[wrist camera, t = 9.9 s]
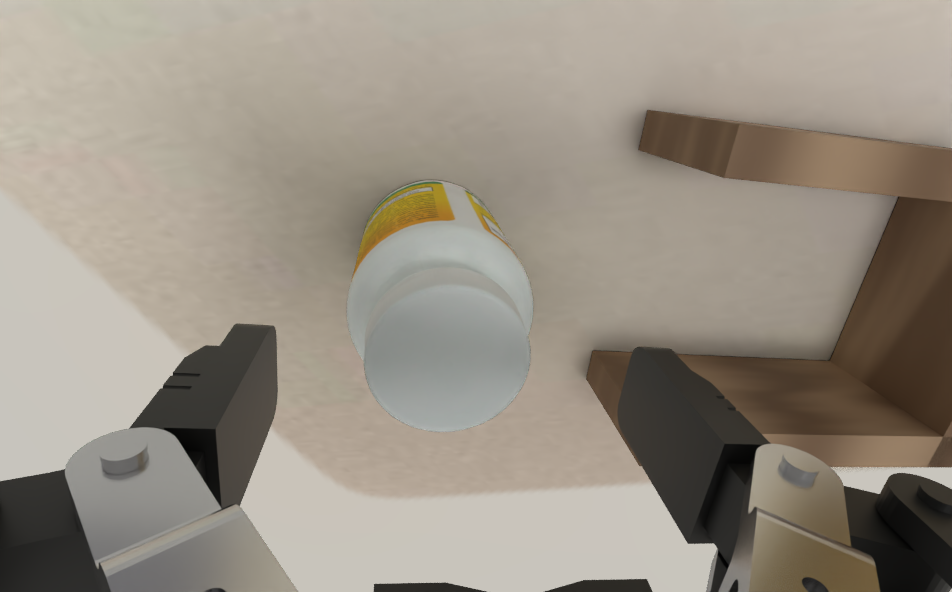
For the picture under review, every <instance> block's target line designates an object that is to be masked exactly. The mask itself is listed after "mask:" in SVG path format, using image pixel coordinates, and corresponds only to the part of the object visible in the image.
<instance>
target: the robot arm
mask: <svg viewBox="0 0 952 592" xmlns="http://www.w3.org/2000/svg"><path fill="white" fill-rule="evenodd" d="M277 392H278V387H277V344H276V330H275V327H274V326H270V325H252V324H235V325H234V326H233V328H232V329H231V331H230V332H229V333H228V335H227V336H226V338H225V339H224V341H223V342H222V344H221V345H220V346H207V345H206V346H204V347H202V348H200V349H199V350H197V351H195V352H194V353H192V354H190V355H188V356H187V357H185V358H184V359H183V361H182V362H181V363H180V364H179V366H178V367H177V368H176V370H175V371H174V372H173V376H170V377H169V378H168V380H167V381H166V382H165V383H164V385H163V389H160V390H159V391H158V392H157V394H156V395H155V396H154V398H153V399H152V400H151V401H150V403H149V404H148V405H147V406H146V408H145V409H144V410H143V412H142V413H141V414H140V415H139V417H138V418H137V419H136V421H135V422H134V423H133V424H132V426H131V427H130V428H129V429H124V430H120V431H116V432H112V433H109V434H107V435H104V436H101V437H99V438H97V439H95V440H93V441H91V442H89V443H88V444H86V445H84V446H83V447H82V448H80V449H79V450H78V451H77V452H76V453H75V454H73V456H72V457H71V458H70V460H69V461H68V463H67V465H66V468H65V469H64V470H61V471H55V472H50V473H45V474H39V475H34V476H28V477H23V478H17V479H12V480H6V481H0V592H298V591H297V589H296V588H295V586H294V585H293V583H292V582H291V580H290V579H289V577H288V576H287V575H286V573H285V571H284V570H283V568H282V567H281V565H280V564H279V562H278V561H277V560H276V558H275V557H274V555H273V554H272V552H271V551H270V549H269V548H268V546H267V545H266V543H265V542H264V540H263V539H262V537H261V536H260V534H259V533H258V531H257V530H256V529H255V527H254V525H253V524H252V522H251V521H250V520H249V518H248V517H247V515H246V514H245V512H244V511H243V510H242V508H241V507H240V504H241V501H242V498H243V496H244V493H245V491H246V488H247V486H248V483H249V481H250V478H251V475H252V473H253V470H254V468H255V465H256V463H257V460H258V457H259V455H260V452H261V450H262V447H263V445H264V442H265V439H266V437H267V434H268V432H269V429H270V427H271V424H272V421H273V419H274V415H275V410H276V404H277ZM617 416H618V423H619V427H620V430H621V432H622V433H623V435H624V437H625V438H626V440H627V442H628V443H629V445H630V447H631V448H632V450H633V452H634V454H635V455H636V457H637V459H638V460H639V462H640V464H641V465H642V467H643V469H644V470H645V472H646V474H647V475H648V477H649V479H650V480H651V482H652V484H653V486H654V487H655V489H656V491H657V492H658V494H659V496H660V497H661V499H662V501H663V502H664V504H665V506H666V507H667V509H668V511H669V512H670V514H671V516H672V518H673V519H674V521H675V523H676V524H677V526H678V528H679V529H680V531H681V533H682V534H683V536H684V538H685V539H686V541H687V543H688V544H693V543H694V544H696V543H697V544H698V543H714V544H715V545H716V546H717V551H716V554H715V556H714V559H713V561H712V565H711V570H710V575H709V580H708V585H707V590H706V592H949V591H950V590H951V588H952V489H950V488H948V487H946V486H944V485H942V484H940V483H937V482H935V481H932V480H930V479H927V478H924V477H921V476H917V475H913V474H906V473H897V474H893V475H891V476H890V477H889V478H888V480H887V482H886V484H885V485H884V488H883V489H882V491H881V493H880V494H876V493H872V492H867V491H863V490H859V489H855V488H851V487H846V486H843V483H842V481H841V479H840V477H839V476H838V475H837V474H836V472H835V471H834V470H832V469H831V468H830V467H829V466H828V465H827V464H825V463H824V462H822V461H821V460H819V459H818V458H816V457H814V456H812V455H810V454H808V453H806V452H804V451H802V450H799V449H796V448H793V447H790V446H786V445H781V444H771V443H770V442H769V441H768V440H767V439H766V438H765V437H764V436H763V435H762V434H761V433H760V432H759V431H758V430H757V429H756V428H755V427H754V426H753V425H752V424H751V423H750V422H749V421H748V420H747V419H746V418H745V417H744V416H743V415H742V414H741V413H740V412H739V411H736V407H735V406H734V405H733V404H732V403H731V402H730V401H729V400H728V399H725V396H724V395H723V394H722V393H721V392H720V391H719V390H718V389H717V388H716V387H715V386H714V385H713V384H712V383H711V382H710V381H708V380H706V379H705V378H703V377H701V376H700V375H698V374H697V373H695V372H693V371H692V370H691V369H690V368H689V367H688V366H687V365H686V364H685V363H684V362H683V361H682V360H681V359H680V358H679V357H678V356H677V355H676V354H675V353H674V351H672V350H671V349H668V348H652V347H637V348H635V349H634V351H633V352H632V355H631V358H630V361H629V365H628V369H627V373H626V376H625V380H624V384H623V388H622V391H621V395H620V399H619V403H618V410H617ZM374 592H486V591H481V590H476V589H472V588H467V587H463V586H458V585H453V584H449V583H403V584H374ZM545 592H652V590H651V587H650V585H649V583H648V581H647V579H629V580H628V579H627V580H583V581H580V582H576V583H573V584H569V585H566V586H562V587H559V588H555V589H552V590H549V591H545Z"/></svg>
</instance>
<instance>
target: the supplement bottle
mask: <svg viewBox="0 0 952 592" xmlns="http://www.w3.org/2000/svg"><path fill="white" fill-rule="evenodd" d="M532 319H533V295H532V289H531V286H530V282H529V279H528V276H527V274H526V272H525V270H524V267H523V266H522V264H521V262H520V260H519V259H518V257H517V255H516V254H515V252H514V250H513V249H512V247H511V245H510V244H509V242H508V241H507V239H506V237H505V236H504V234H503V232H502V231H501V229H500V228H499V226H498V224H497V222H496V221H495V219H494V218H493V216H492V215H491V213H490V212H489V210H488V209H487V208H486V206H485V205H484V204H483V203H482V202H481V201H480V199H478V198H477V197H476V196H475V195H474V194H472V193H471V192H470V191H468V190H466V189H465V188H463V187H461V186H458V185H456V184H453V183H449V182H445V181H437V180H425V181H419V182H415V183H412V184H409V185H406V186H404V187H401V188H399V189H397V190H396V191H394V192H392V193H391V194H389V195H388V196H387V197H385V198H384V199H383V200H382V201H381V202H380V203H379V204H378V205H377V207H376V208H375V209H374V211H373V212H372V214H371V216H370V217H369V219H368V222H367V224H366V227H365V230H364V233H363V237H362V241H361V245H360V249H359V253H358V257H357V262H356V266H355V270H354V273H353V277H352V280H351V284H350V288H349V293H348V299H347V322H348V328H349V332H350V335H351V339H352V341H353V344H354V346H355V348H356V350H357V352H358V353H359V355H360V357H361V358H362V359H363V361H364V369H365V375H366V379H367V382H368V385H369V388H370V390H371V392H372V394H373V396H374V397H375V399H376V400H377V402H378V403H379V404H380V405H381V406H382V407H383V408H384V409H385V410H386V411H387V412H388V413H389V414H390V415H391V416H393V417H394V418H395V419H397V420H399V421H401V422H402V423H404V424H407V425H409V426H411V427H414V428H417V429H421V430H426V431H433V432H454V431H460V430H465V429H468V428H471V427H474V426H477V425H480V424H483V423H485V422H486V421H488V420H490V419H492V418H494V417H495V416H496V415H498V414H499V413H500V412H502V411H503V410H504V409H505V408H506V407H507V406H508V405H509V404H510V403H511V402H512V401H513V400H514V398H515V397H516V396H517V394H518V393H519V391H520V390H521V388H522V386H523V384H524V382H525V380H526V377H527V374H528V371H529V366H530V343H529V338H528V335H529V332H530V329H531V324H532Z"/></svg>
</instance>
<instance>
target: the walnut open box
mask: <svg viewBox="0 0 952 592" xmlns="http://www.w3.org/2000/svg"><path fill="white" fill-rule="evenodd" d="M639 150H640V151H643V152H646V153H649V154H652V155H655V156H659V157H662V158H665V159H668V160H671V161H674V162H677V163H680V164H683V165H686V166H689V167H692V168H696V169H699V170H702V171H705V172H708V173H711V174H714V175H717V176H720V177H723V178H731V179H741V180H750V181H759V182H769V183H778V184H788V185H797V186H807V187H816V188H826V189H835V190H844V191H854V192H863V193H873V194H882V195H892V196H899V199H898V201H897V203H896V206H895V208H894V211H893V213H892V215H891V218H890V220H889V222H888V225H887V227H886V229H885V232H884V234H883V237H882V239H881V241H880V244H879V246H878V248H877V251H876V253H875V255H874V258H873V260H872V263H871V265H870V267H869V270H868V272H867V274H866V277H865V279H864V281H863V284H862V286H861V289H860V291H859V293H858V296H857V298H856V300H855V303H854V305H853V307H852V310H851V312H850V315H849V317H848V319H847V322H846V324H845V326H844V329H843V331H842V333H841V336H840V338H839V341H838V343H837V345H836V348H835V350H834V352H833V355H832V357H831V359H830V361H821V360H798V359H775V358H751V357H728V356H705V355H682V354H676V355H677V356H678V357H679V358H680V359H681V360H682V361H683V362H684V363H685V364H686V365H687V366H688V367H689V368H690V369H691V370H692V371H693V372H695V373H697V374H698V375H700V376H701V377H703V378H705V379H706V380H708V381H710V382H711V383H712V384H713V385H714V386H715V387H716V388H717V389H718V390H719V391H720V392H721V393H722V394H723V395H724V396H725V399H728V400H729V401H730V402H731V403H732V404H733V405H734V406H735V407H736V411H739V412H740V413H741V414H742V415H743V416H744V417H745V418H746V419H747V420H748V421H749V422H750V423H751V424H752V425H753V426H754V427H755V428H756V429H757V430H758V431H759V432H760V433H761V434H762V435H763V436H764V437H765V438H766V439H767V440H768V441H769V442H770V443H771V444H781V445H786V446H790V447H793V448H796V449H799V450H802V451H804V452H806V453H808V454H810V455H812V456H814V457H816V458H818V459H819V460H821V461H822V462H824V463H825V464H827V465H828V466H829V467H952V148H944V147H936V146H928V145H920V144H912V143H904V142H896V141H888V140H880V139H873V138H865V137H857V136H849V135H841V134H833V133H825V132H817V131H809V130H801V129H793V128H786V127H778V126H770V125H762V124H754V123H746V122H738V121H730V120H722V119H714V118H706V117H699V116H691V115H683V114H675V113H667V112H659V111H651V110H648V111H647V115H646V120H645V124H644V128H643V133H642V137H641V141H640V146H639ZM631 355H632V352H612V351H593V352H592V356H591V360H590V365H589V369H588V374H587V378H586V379H587V381H588V382H589V384H590V386H591V387H592V389H593V391H594V392H595V394H596V396H597V397H598V399H599V400H600V402H601V404H602V405H603V407H604V409H605V410H606V412H607V414H608V415H609V417H610V418H611V420H612V422H613V423H614V425H615V427H616V428H617V430H618V432H619V433H620V435H621V437H622V438H623V440H624V441H625V443H626V445H627V446H628V448H629V450H630V451H631V453H632V455H633V456H634V458H635V459H636V461H637V463H638V464H639V466H642V465H641V464H640V462H639V460H638V459H637V457H636V455H635V454H634V452H633V450H632V448H631V447H630V445H629V443H628V442H627V440H626V438H625V437H624V435H623V433H622V432H621V430H620V427H619V423H618V416H617V410H618V403H619V399H620V395H621V391H622V388H623V384H624V380H625V376H626V373H627V369H628V365H629V361H630V358H631Z"/></svg>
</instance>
